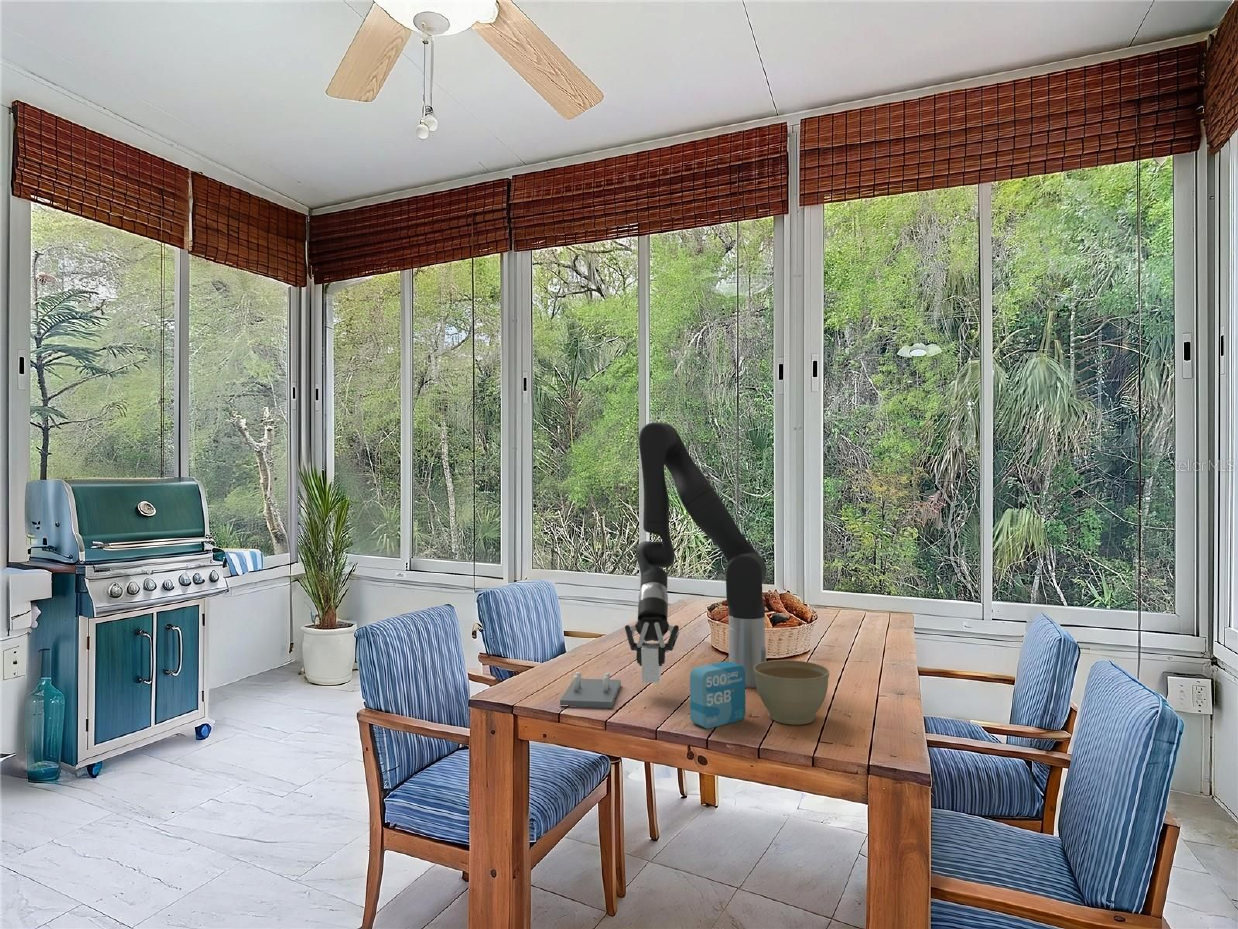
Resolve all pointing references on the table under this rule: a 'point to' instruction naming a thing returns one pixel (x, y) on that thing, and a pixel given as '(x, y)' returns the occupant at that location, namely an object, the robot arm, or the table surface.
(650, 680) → the block
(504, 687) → the table surface
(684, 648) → the table surface
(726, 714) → the data package
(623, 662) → the table surface
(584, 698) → the drive dock
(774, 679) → the planter bowl
